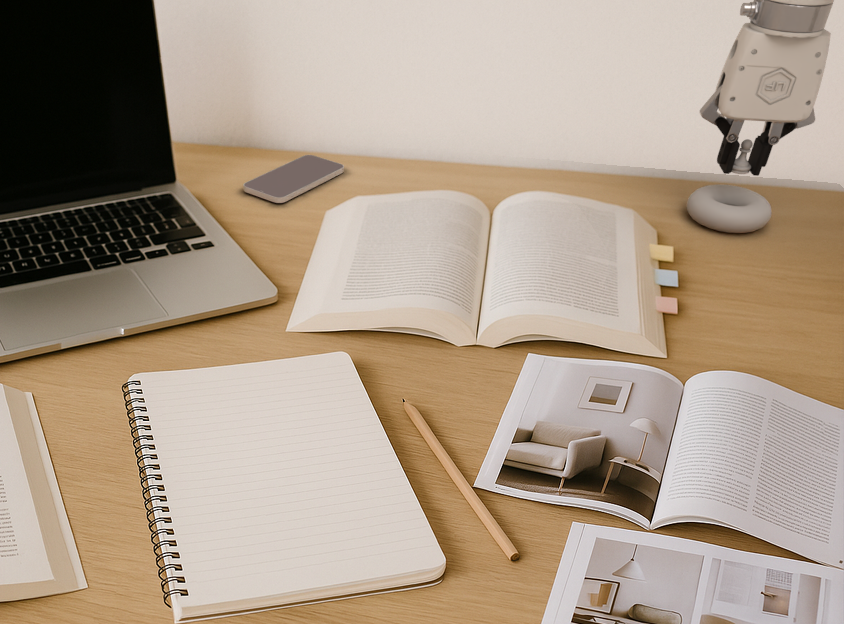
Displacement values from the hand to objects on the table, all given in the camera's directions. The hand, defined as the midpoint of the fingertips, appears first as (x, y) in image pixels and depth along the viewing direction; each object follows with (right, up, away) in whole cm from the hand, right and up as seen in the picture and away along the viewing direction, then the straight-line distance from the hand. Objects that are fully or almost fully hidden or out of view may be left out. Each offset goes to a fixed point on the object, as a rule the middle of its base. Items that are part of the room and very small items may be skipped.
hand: (738, 169), depth 105 cm
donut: (0, -6, +4) cm, 7 cm away
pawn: (0, 0, 0) cm, 0 cm away
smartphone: (-56, +2, +15) cm, 57 cm away
